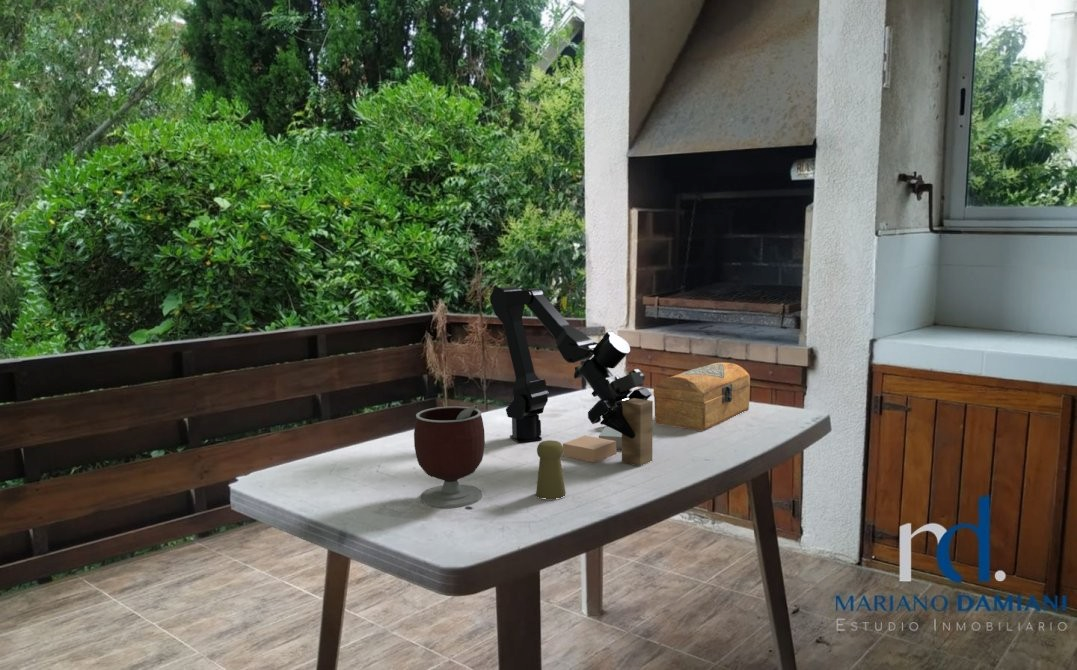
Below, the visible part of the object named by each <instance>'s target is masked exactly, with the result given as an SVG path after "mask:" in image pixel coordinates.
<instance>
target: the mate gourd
mask: <svg viewBox="0 0 1077 670" xmlns="http://www.w3.org/2000/svg"><path fill="white" fill-rule="evenodd" d="M415 417H416V419H415V423H414V431H413V443H414V445H413V446H414V451H415V456H416V460H417V463H418V465H419V467H420V468H421V469H422V470H423V472H425V474H426V476H429V477H432V478H435V479H438V480H441V481H444V482H443V484H442V485H436V486H433V487H430V488H427V489H425V490H423V492H421V494H420V501H421V502H422V504H424V503H425V504H424V505H426V504H427V505H426V506H429V505H430V506H429V507H433V506H434V508H440V507H441V508H443V509H444V508H445V509H446V508H447V509H452V508H454V509H455V508H461V506H462V507H465V506H466V505H467V506H470V505H473V504H475V502H476V503H477V502H479V501H481V499H482V498H483V491H482V489H481V488H480V487H479V488H478V487H477V486H473V485H470V484H460V483H459V480H460V479H462V478H465V477H467V476H470V475H473V473H475V472H476V470H477V468H478V467H479V466H480V465H481V463H482V461H483V458H484V454H485V453H484V452H485V444H486V443H485V441H486V440H485V439H486V438H485V427H484V420H483V417H482V411H481V409H480V410H479V408H478V405H476V404H475V405H472V406H456V405H455V406H452V405H451V406H439V407H432V408H427V409H423V410H420V411H419V412H417V413H416V414H415ZM469 504H470V505H469Z"/></svg>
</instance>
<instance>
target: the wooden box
mask: <svg viewBox="0 0 1077 670" xmlns="http://www.w3.org/2000/svg"><path fill="white" fill-rule="evenodd" d="M750 376H751V375H750V374H749V372H747V370H746V369H745V368H743V367H742V366H741V365H738V364H736V363H732V362H716V363H715V362H714V363H710V364H709V365H708V364H707V365H705V366H699V367H696V368H693V369H690V370H686V371H683V372H681V373H679V374H676V375H672V376H669V377H665V378H663V379H661V380H659V382H657V384H656V385H655V386H654V387H653V397H654V398H653V399H654V401H653V403H654V420H655V422H654V423H655V424H656V425H662V426H669V427H674V426H675V427H676V428H680V427H681V428H682V429H686V430H693V431H694V430H695V431H701V432H706V431H708V430H710V429H711V428H713V427H716V426H718V425H720V424H722V423H724V422H726V421H728V420H731V419H732V418H734V416H735V417H737V416H739V415H741V414H743V413H745V412H744V411H746V410H748V411H749V408H750V396H751V388H750V387H751V385H750V384H751V377H750ZM742 412H743V413H742ZM746 412H747V411H746ZM740 413H741V414H740ZM738 414H739V415H738ZM736 415H737V416H736ZM730 418H731V419H730ZM675 427H674V428H675Z"/></svg>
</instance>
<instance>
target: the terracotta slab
mask: <svg viewBox="0 0 1077 670" xmlns="http://www.w3.org/2000/svg"><path fill="white" fill-rule="evenodd" d="M562 446H563V454H562V456H563V457H566V458H572V459H575V458H576V459H577V460H579V461H580V460H581V461H586V462H589V463H590V462H591V463H596V462H599V461H601V460H603V459H607V458H608V457H612V456H614V455H615V454H617V449H616V441H613V440H607V439H602V438H599V437H595V436H591V435H590V436H589V435H583V436H579V437H577V438H574V439H571V440H568V441H566V442H563V443H562ZM576 459H575V460H576Z"/></svg>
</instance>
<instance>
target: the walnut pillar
mask: <svg viewBox="0 0 1077 670" xmlns="http://www.w3.org/2000/svg"><path fill="white" fill-rule="evenodd" d="M653 403H654V401H653V400H648V399H647V400H643V399H636V398H633V399H630V400H627V401H623V402H622V410H623V416H624V418H625V419H626V421H627V422H628V424H629V425H630V427H631V428H632V430H633V432H634V434H635V437H634V438H633V439H631V438H629V437H628V436H626V435H624V434H622V449H621V463H622V462H623V463H622V464H627V463H629V464H628V465H632V464H634V466H637V465H639V466H638V467H641V465H642V466H644V465H643V464H645V465H646V463H647V464H649V463H651V462H650V461H652V462H653V429H654V428H653V427H654V426H653V422H654V421H653V414H654V411H653V409H654V405H653ZM648 462H649V463H648Z"/></svg>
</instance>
